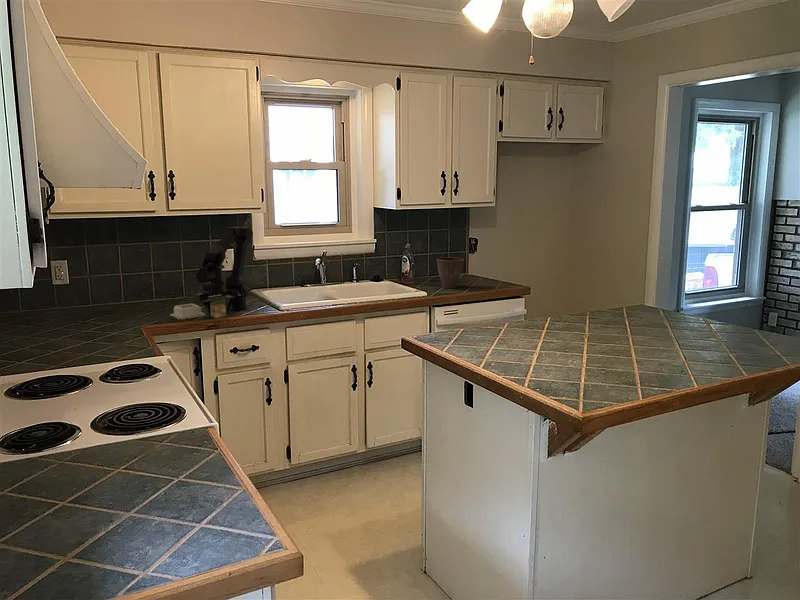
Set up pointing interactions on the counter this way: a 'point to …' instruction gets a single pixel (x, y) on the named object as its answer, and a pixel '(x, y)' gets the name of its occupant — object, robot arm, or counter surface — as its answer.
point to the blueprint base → (187, 311)
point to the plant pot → (450, 271)
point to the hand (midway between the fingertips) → (218, 313)
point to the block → (218, 310)
